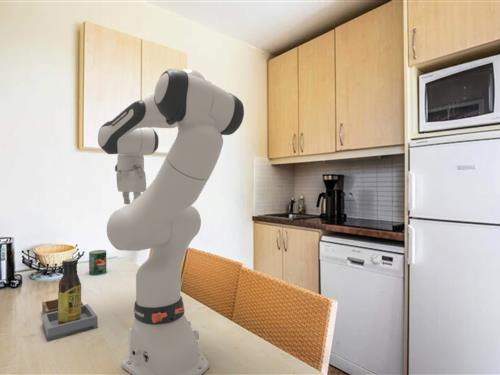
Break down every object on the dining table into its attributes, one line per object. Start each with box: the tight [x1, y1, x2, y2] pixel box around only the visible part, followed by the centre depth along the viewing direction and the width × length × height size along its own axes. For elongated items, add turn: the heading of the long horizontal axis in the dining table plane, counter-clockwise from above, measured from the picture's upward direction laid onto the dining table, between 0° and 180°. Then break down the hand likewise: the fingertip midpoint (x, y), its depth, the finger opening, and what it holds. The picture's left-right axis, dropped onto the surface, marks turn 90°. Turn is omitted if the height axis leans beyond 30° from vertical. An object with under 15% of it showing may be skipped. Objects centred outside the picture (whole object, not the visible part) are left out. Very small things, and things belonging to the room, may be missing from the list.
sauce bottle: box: [57, 258, 82, 325], centre depth 97 cm, size 7×6×20 cm
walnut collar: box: [41, 298, 84, 314], centre depth 107 cm, size 11×11×4 cm
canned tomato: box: [88, 249, 107, 277], centre depth 156 cm, size 8×8×11 cm
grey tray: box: [41, 303, 99, 342], centre depth 97 cm, size 13×13×4 cm
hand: (131, 204), depth 110 cm, fingers open, 8 cm apart
